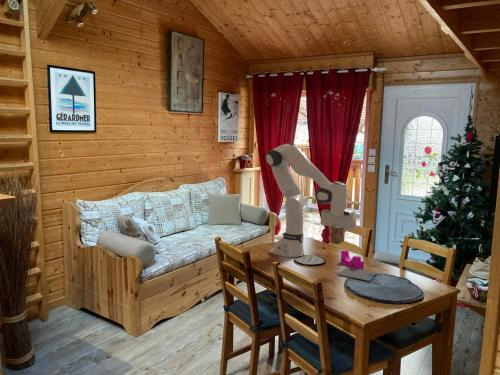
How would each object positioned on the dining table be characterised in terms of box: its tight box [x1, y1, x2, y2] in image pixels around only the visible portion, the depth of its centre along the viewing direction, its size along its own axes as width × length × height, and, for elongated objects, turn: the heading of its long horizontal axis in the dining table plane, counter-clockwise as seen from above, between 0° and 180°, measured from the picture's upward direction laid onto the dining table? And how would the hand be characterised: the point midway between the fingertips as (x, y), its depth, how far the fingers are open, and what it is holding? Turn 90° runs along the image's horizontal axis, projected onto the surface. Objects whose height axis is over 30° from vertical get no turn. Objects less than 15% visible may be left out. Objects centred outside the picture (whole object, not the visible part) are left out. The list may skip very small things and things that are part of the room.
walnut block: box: [329, 225, 345, 245], centre depth 233 cm, size 5×9×10 cm, turn 146°
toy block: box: [340, 249, 365, 270], centre depth 247 cm, size 15×6×8 cm, turn 20°
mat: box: [336, 266, 379, 282], centre depth 231 cm, size 18×16×1 cm
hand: (337, 234), depth 233 cm, fingers closed on walnut block, 5 cm apart
